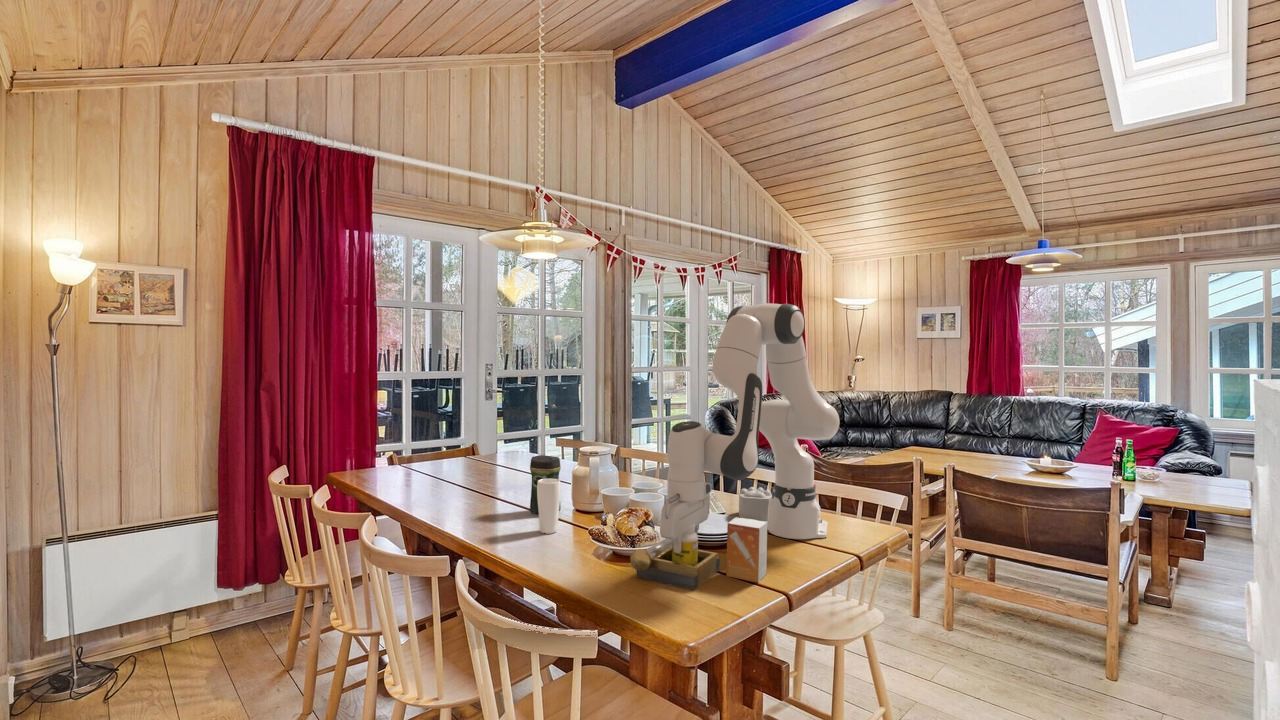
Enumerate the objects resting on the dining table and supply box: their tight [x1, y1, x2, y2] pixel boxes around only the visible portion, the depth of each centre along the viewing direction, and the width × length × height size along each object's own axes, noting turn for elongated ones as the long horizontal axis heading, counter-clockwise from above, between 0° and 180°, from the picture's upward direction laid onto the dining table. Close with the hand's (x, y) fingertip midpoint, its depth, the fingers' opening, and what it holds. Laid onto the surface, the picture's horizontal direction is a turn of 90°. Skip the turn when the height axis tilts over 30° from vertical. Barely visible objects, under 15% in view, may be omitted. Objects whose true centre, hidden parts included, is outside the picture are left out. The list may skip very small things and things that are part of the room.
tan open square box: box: [629, 538, 721, 591], centre depth 149 cm, size 16×16×7 cm
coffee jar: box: [529, 454, 562, 515], centre depth 202 cm, size 10×8×19 cm
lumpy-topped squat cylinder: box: [738, 486, 773, 522], centre depth 201 cm, size 10×13×9 cm
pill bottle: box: [672, 524, 699, 566], centre depth 149 cm, size 6×6×11 cm
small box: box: [725, 516, 768, 583], centre depth 148 cm, size 8×6×13 cm
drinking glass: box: [537, 478, 562, 535], centre depth 182 cm, size 7×7×15 cm
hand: (685, 547), depth 149 cm, fingers closed on pill bottle, 6 cm apart
